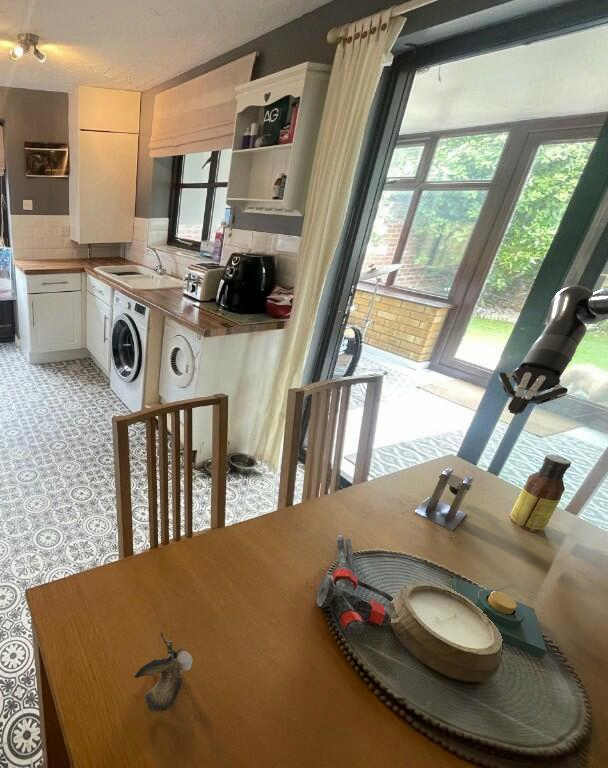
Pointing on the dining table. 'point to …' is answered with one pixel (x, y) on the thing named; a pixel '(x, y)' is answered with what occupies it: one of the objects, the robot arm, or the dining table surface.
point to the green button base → (507, 620)
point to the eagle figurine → (165, 677)
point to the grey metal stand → (441, 511)
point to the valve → (350, 595)
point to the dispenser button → (502, 602)
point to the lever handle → (454, 483)
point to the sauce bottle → (540, 495)
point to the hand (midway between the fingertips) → (513, 412)
